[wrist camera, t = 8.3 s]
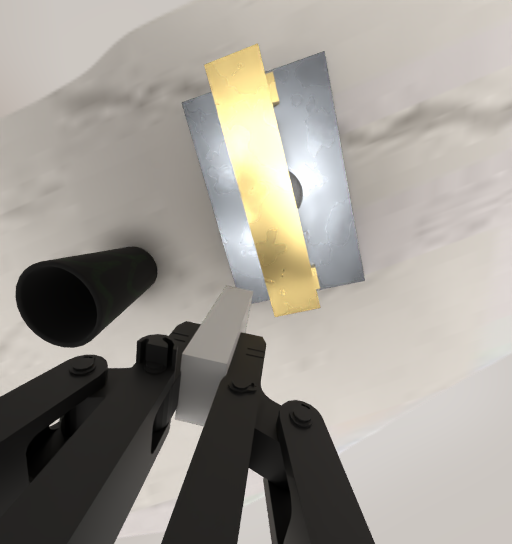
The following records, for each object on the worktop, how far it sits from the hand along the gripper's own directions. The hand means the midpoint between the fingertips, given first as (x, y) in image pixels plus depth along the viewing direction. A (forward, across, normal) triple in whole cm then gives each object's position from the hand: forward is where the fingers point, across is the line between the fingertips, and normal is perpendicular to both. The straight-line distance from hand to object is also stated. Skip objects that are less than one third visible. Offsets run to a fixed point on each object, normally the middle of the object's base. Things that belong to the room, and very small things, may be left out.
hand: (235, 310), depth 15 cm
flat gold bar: (+11, 0, +6) cm, 12 cm away
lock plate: (+17, 0, +6) cm, 18 cm away
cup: (+17, -15, -6) cm, 24 cm away
